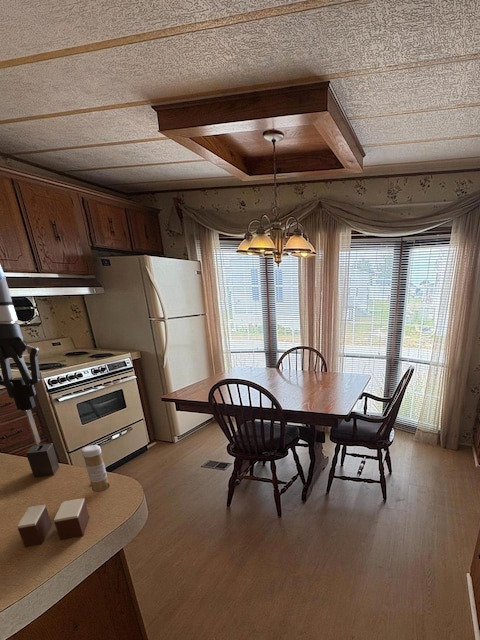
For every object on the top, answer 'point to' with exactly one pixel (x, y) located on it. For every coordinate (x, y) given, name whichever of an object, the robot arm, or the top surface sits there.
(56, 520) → the cake
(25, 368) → the robot arm
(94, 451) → the sprinkles bottle
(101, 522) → the top surface
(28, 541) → the cake slice
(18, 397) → the knife
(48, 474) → the knife block
